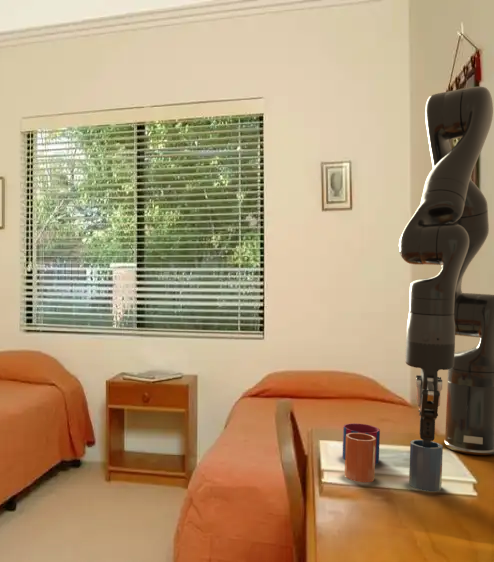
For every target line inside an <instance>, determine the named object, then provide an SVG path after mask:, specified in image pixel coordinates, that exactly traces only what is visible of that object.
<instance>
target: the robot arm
mask: <svg viewBox="0 0 494 562" xmlns="http://www.w3.org/2000/svg"><path fill="white" fill-rule="evenodd" d="M493 104H494V103H493V98H492V94H491V91H490V90H489V89H488V87H485V86H471V87H466V88H460V89H454V90H449V91H443V92H438V93H434V94H432V95H430V96H428V98H427V100H426V103H425V109H424V110H425V111H424V116H425V117H424V119H425V128H426V135H427V136H426V137H427V142H428V148H429V155H430V161H431V168H432V169H431V170H430V172H429V173H428V174H427V177H426V178H425V181H424V185H423V190H422V194H421V198H420V202H419V205H418V207H417V208H416V210H415V212H414V213H413V215H412V216H411V218H410V220H409V221H408V222H407V223H406V225H405V227H404V229H403V230H402V232H401V235H400V237H399V242H398V252H399V255H400V256H401V259H403V261H404V262H406V263H408V264H410V265H415V266H416V265H417V266H418V265H419V266H424V265H425V266H440V270H439V272H438V273H437V274H436V275H434V276H431V277H424V278H418V279H414V280H413V281H412V282H410V284H409V290H408V291H409V293H408V313H407V314H408V315H407V321H406V335H405V360H404V361H405V364H406V365H407V366H408V367H411V368H416V369H420V374H415V386H416V400H417V401H416V402H417V404H418V405H417V407H418V413H419V414H418V416H419V437H420V440H429V441H433V442H434V440H435V437H436V420H437V419H438V417H439V412H438V411H439V407H440V405H441V391H442V390H443V379H442V377H441V376H438V372H439V371H441V370H443V371H447V379H446V380H447V381H446V382H447V384H446V407H445V408H446V411H445V432H444V433H445V434H444V435H445V436H444V446H445V447H446V448H447V449H449V450H452V451H454V452H458V453H462V454H466V455H471V456H472V455H473V456H492V455H494V294H491V293H470V292H463V291H462V284H463V283H462V282H463V278H464V275H465V273H466V271H467V270H468V267H469V265H470V264H471V262H472V261H473V260H474V258H475V257H476V255H477V254H478V253H479V251H480V250H481V249H482V247H483V245H484V243H485V242H486V240H487V239H488V237H489V234H490V233H489V232H490V225H489V224H490V223H489V222H490V221H489V210H488V209H489V205H488V201H487V199H486V197H485V195H484V194H483V191H482V190H481V189H480V188H479V187H478V185H476V183H475V182H474V181H473V180H472V179H471V177H472V174H473V171H474V168H475V166H476V164H477V162H478V160H479V157H480V155H481V152H482V150H483V147H484V145H485V143H486V140H487V137H488V135H489V133H490V129H491V126H492V121H493V117H494V105H493ZM456 139H459V140H458V142H457V143H456V144H455V145H454V146H453V147H451V142H450V141H451V140H456ZM456 336H459V337H470V338H479V339H478V344H477V345H475V346H474V347H471V348H468V349H465V350H461V351H456V349H455V348H456ZM424 409H431V410H432V411H431V410H424Z"/></svg>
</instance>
